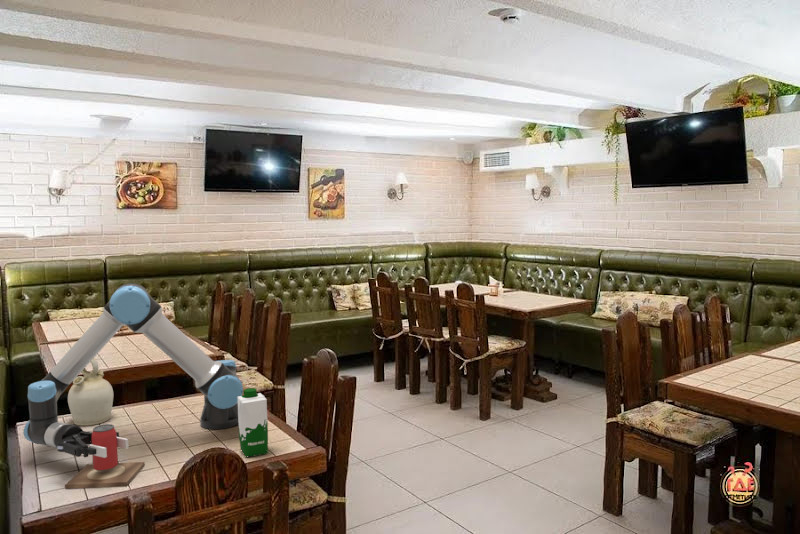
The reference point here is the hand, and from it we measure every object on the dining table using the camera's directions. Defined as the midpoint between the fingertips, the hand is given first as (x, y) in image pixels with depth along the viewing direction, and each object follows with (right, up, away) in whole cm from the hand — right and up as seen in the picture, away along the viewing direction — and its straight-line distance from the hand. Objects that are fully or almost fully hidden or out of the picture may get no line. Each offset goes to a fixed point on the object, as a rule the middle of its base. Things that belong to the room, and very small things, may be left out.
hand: (116, 448), depth 174 cm
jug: (-34, -6, +53) cm, 63 cm away
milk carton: (+35, -7, +20) cm, 41 cm away
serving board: (-4, -9, +3) cm, 11 cm away
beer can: (-4, -7, +3) cm, 8 cm away
